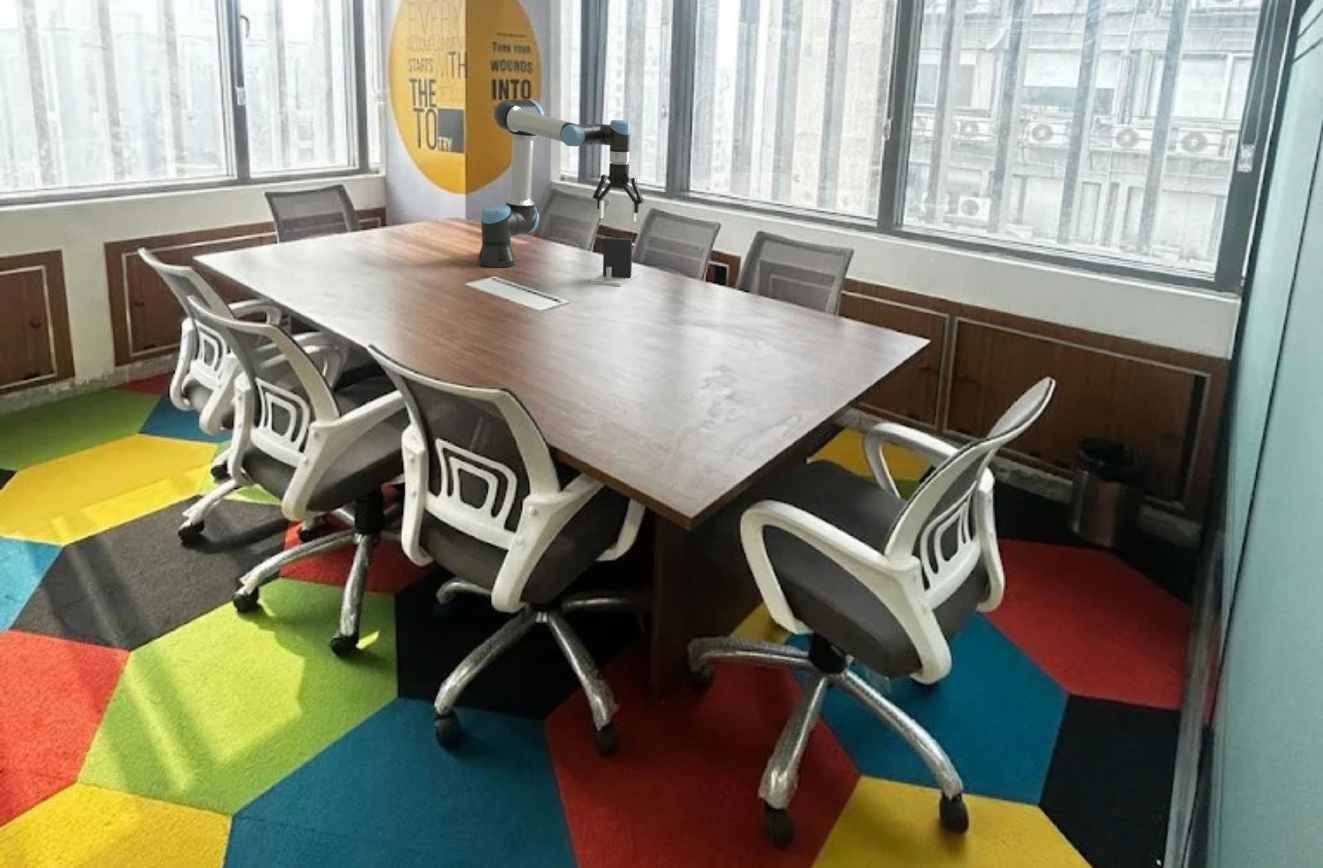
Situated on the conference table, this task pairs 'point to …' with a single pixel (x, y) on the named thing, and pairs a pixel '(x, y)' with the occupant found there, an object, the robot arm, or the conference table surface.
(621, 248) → the calculator
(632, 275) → the white peg stand
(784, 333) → the conference table surface
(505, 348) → the conference table surface
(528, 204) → the robot arm
